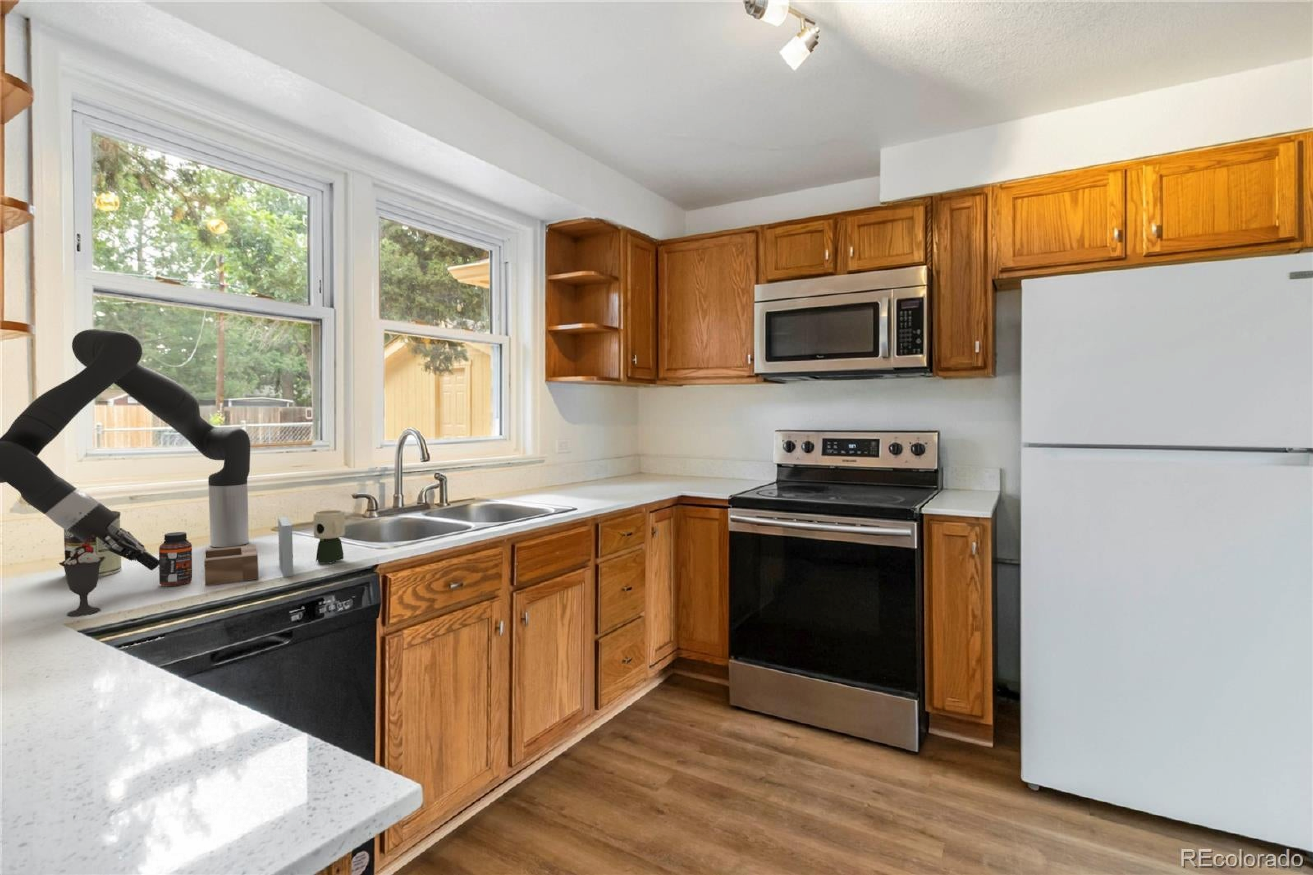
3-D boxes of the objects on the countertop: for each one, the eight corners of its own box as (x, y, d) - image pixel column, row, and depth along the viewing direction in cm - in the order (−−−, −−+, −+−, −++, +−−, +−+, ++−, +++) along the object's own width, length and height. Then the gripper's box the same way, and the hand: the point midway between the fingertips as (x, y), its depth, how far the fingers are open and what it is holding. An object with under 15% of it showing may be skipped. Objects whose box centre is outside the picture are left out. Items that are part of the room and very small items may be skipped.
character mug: (307, 561, 166) (306, 510, 165) (336, 556, 171) (335, 507, 171) (323, 568, 159) (322, 516, 158) (352, 563, 164) (352, 512, 163)
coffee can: (67, 581, 146) (65, 519, 145) (62, 573, 153) (60, 514, 152) (126, 573, 153) (123, 514, 153) (118, 565, 160) (116, 509, 160)
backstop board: (279, 565, 162) (278, 517, 161) (288, 564, 163) (287, 516, 162) (283, 576, 151) (282, 526, 150) (293, 575, 152) (292, 525, 151)
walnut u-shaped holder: (206, 572, 153) (205, 549, 153) (255, 566, 159) (255, 544, 159) (205, 585, 143) (204, 560, 142) (258, 578, 148) (257, 555, 148)
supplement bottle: (179, 587, 142) (178, 536, 141) (152, 586, 142) (151, 535, 141) (198, 580, 148) (198, 531, 147) (173, 579, 148) (172, 530, 147)
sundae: (109, 612, 125) (106, 535, 124) (62, 620, 120) (59, 540, 119) (104, 604, 130) (101, 530, 129) (59, 612, 125) (56, 535, 124)
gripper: (92, 506, 131) (169, 559, 139) (103, 498, 142) (173, 547, 150) (58, 534, 129) (138, 587, 136) (72, 524, 140) (145, 573, 147)
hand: (156, 566), depth 143 cm, fingers closed
